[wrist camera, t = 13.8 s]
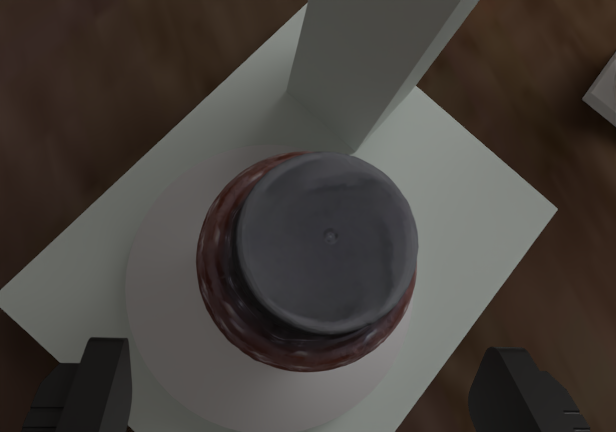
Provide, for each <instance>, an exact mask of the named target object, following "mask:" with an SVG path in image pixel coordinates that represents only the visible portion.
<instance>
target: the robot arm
mask: <svg viewBox="0 0 616 432" xmlns="http://www.w3.org/2000/svg"><path fill="white" fill-rule="evenodd" d="M131 403H132V376H131V363H130V350H129V341H128V338H108V337H91V338H90V339H89V340H88V342H87V344H86V347H85V350H84V353H83V355H82V358H81V361H80V363H59V364H58V365H57V367H56V368H55V369H54V370H53V371H52V372H51V373H50V374H49V375H48V376H47V377H46V378H45V379H44V380H43V381H42V382H41V383H40V386H39V388H38V390H37V393H36V395H35V398H34V400H33V402H32V405H31V409H30V412H28V414H27V417H26V419H25V421H24V424H23V426H22V431H21V432H126V429H127V425H128V421H129V416H130V410H131ZM468 406H469V412H470V416H471V419H472V422H473V424H474V427H475V429H476V432H590V427H589V425H588V424H587V422H586V420H585V419H584V417H583V416H582V415H580V414H579V409H578V408H577V406H576V404H575V403H574V401H573V399H572V398H571V396H570V395H569V393H568V391H567V390H566V389H565V388H564V387H563V386H562V385H561V384H560V383H559V382H558V381H557V380H555V379H554V378H553V377H552V376H551V375H550V374H549V373H548V372H547V371H539V369H538V368H537V366H536V364H535V363H534V361H533V359H532V358H531V356H530V354H529V353H528V352H527V350H525V349H524V348H518V347H490V348H488V349H487V350H486V352H485V354H484V357H483V359H482V362H481V364H480V367H479V369H478V371H477V374H476V376H475V379H474V381H473V384H472V386H471V389H470V391H469V397H468Z"/></svg>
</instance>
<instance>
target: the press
mask: <svg viewBox="0 0 616 432" xmlns="http://www.w3.org/2000/svg"><path fill="white" fill-rule="evenodd" d="M478 1H479V0H308V3H307V4H306V5H305V6H304V7H303V8H301V9H300V10H299V11H298V12H297V13H296V14H295V15H294V16H293V17H292V18H291V19H290V20H289V21H288V22H287V23H285V24H284V25H283V26H282V27H281V28H280V29H279V30H278V31H277V32H276V33H275V34H274V35H273V36H272V37H270V38H269V39H268V40H267V41H266V42H265V43H264V44H263V45H262V46H261V47H260V48H259V49H258V50H257V51H256V52H254V53H253V54H252V55H251V56H250V57H249V58H248V59H247V60H246V61H245V62H244V63H243V64H242V65H241V66H239V67H238V68H237V69H236V70H235V71H234V72H233V73H232V74H231V75H230V76H229V77H228V78H227V79H226V80H225V81H223V82H222V83H221V84H220V85H219V86H218V87H217V88H216V89H215V90H214V91H213V92H212V93H211V94H210V95H208V96H207V97H206V98H205V99H204V100H203V101H202V102H201V103H200V104H199V105H198V106H197V107H196V108H195V109H194V110H192V111H191V112H190V113H189V114H188V115H187V116H186V117H185V118H184V119H183V120H182V121H181V122H180V123H179V124H178V125H176V126H175V127H174V128H173V129H172V130H171V131H170V132H169V133H168V134H167V135H166V136H165V137H164V138H163V139H161V140H160V141H159V142H158V143H157V144H156V145H155V146H154V147H153V148H152V149H151V150H150V151H149V152H148V153H147V154H145V155H144V156H143V157H142V158H141V159H140V160H139V161H138V162H137V163H136V164H135V165H134V166H133V167H132V168H130V169H129V170H128V171H127V172H126V173H125V174H124V175H123V176H122V177H121V178H120V179H119V180H118V181H117V182H116V183H114V184H113V185H112V186H111V187H110V188H109V189H108V190H107V191H106V192H105V193H104V194H103V195H102V196H101V197H99V198H98V199H97V200H96V201H95V202H94V203H93V204H92V205H91V206H90V207H89V208H88V209H87V210H86V211H85V212H83V213H82V214H81V215H80V216H79V217H78V218H77V219H76V220H75V221H74V222H73V223H72V224H71V225H70V226H69V227H67V228H66V229H65V230H64V231H63V232H62V233H61V234H60V235H59V236H58V237H57V238H56V239H55V240H54V241H52V242H51V243H50V244H49V245H48V246H47V247H46V248H45V249H44V250H43V251H42V252H41V253H40V254H39V255H38V256H36V257H35V258H34V259H33V260H32V261H31V262H30V263H29V264H28V265H27V266H26V267H25V268H24V269H23V270H21V271H20V272H19V273H18V274H17V275H16V276H15V277H14V278H13V279H12V280H11V281H10V282H9V283H8V284H7V285H5V286H4V287H3V288H2V289H1V290H0V308H1V309H3V310H4V311H5V312H6V313H7V314H8V315H9V316H10V317H11V318H12V319H13V320H14V321H16V322H17V323H18V324H19V325H20V326H21V327H22V328H23V329H24V330H25V331H26V332H27V333H29V334H30V335H31V336H32V337H33V338H34V339H35V340H36V341H37V342H38V343H39V344H40V345H42V346H43V347H44V348H45V349H46V350H47V351H48V352H49V353H50V354H51V355H52V356H53V357H55V358H56V359H57V360H58V361H59V362H60V363H80V361H81V358H82V355H83V353H84V350H85V347H86V344H87V342H88V340H89V339H90V338H91V337H108V338H128V341H129V350H130V363H131V376H132V403H131V410H130V416H129V421H128V426H129V427H130V428H131V429H132V430H133V431H135V432H395V430H396V429H397V428H398V426H399V425H400V424H401V422H402V421H403V420H404V418H405V417H406V415H407V414H408V413H409V411H410V410H411V409H412V407H413V406H414V405H415V403H416V402H417V400H418V399H419V398H420V396H421V395H422V394H423V392H424V391H425V390H426V388H427V387H428V385H429V384H430V383H431V381H432V380H433V379H434V377H435V376H436V375H437V373H438V372H439V370H440V369H441V368H442V366H443V365H444V364H445V362H446V361H447V360H448V358H449V357H450V355H451V354H452V353H453V351H454V350H455V349H456V347H457V346H458V345H459V343H460V342H461V341H462V339H463V338H464V336H465V335H466V334H467V332H468V331H469V330H470V328H471V327H472V326H473V324H474V323H475V321H476V320H477V319H478V317H479V316H480V315H481V313H482V312H483V311H484V309H485V308H486V306H487V305H488V304H489V302H490V301H491V300H492V298H493V297H494V296H495V294H496V293H497V291H498V290H499V289H500V287H501V286H502V285H503V283H504V282H505V281H506V279H507V278H508V276H509V275H510V274H511V272H512V271H513V270H514V268H515V267H516V266H517V264H518V263H519V261H520V260H521V259H522V257H523V256H524V255H525V253H526V252H527V251H528V249H529V248H530V246H531V245H532V244H533V242H534V241H535V240H536V238H537V237H538V236H539V234H540V233H541V231H542V230H543V229H544V227H545V226H546V225H547V223H548V222H549V221H550V219H551V218H552V217H553V215H554V214H555V212H556V211H557V210H558V209H557V208H556V207H555V206H554V205H553V204H552V203H550V202H549V201H548V200H547V199H546V198H545V197H544V196H542V195H541V194H540V193H539V192H538V191H537V190H535V189H534V188H533V187H532V186H531V185H530V184H529V183H527V182H526V181H525V180H524V179H523V178H522V177H520V176H519V175H518V174H517V173H516V172H515V171H514V170H512V169H511V168H510V167H509V166H508V165H507V164H505V163H504V162H503V161H502V160H501V159H500V158H498V157H497V156H496V155H495V154H494V153H493V152H492V151H490V150H489V149H488V148H487V147H486V146H485V145H483V144H482V143H481V142H480V141H479V140H478V139H477V138H475V137H474V136H473V135H472V134H471V133H470V132H468V131H467V130H466V129H465V128H464V127H463V126H462V125H460V124H459V123H458V122H457V121H456V120H455V119H453V118H452V117H451V116H450V115H449V114H448V113H447V112H445V111H444V110H443V109H442V108H441V107H440V106H438V105H437V104H436V103H435V102H434V101H433V100H432V99H430V98H429V97H428V96H427V95H426V94H425V93H423V92H422V91H421V90H420V89H419V88H418V87H417V86H416V84H417V83H418V82H419V80H420V79H421V78H422V76H423V75H424V74H425V72H426V71H427V70H428V68H429V67H430V66H431V64H432V63H433V62H434V60H435V59H436V57H437V56H438V55H439V53H440V52H441V51H442V49H443V48H444V47H445V45H446V44H447V43H448V41H449V40H450V39H451V37H452V36H453V35H454V33H455V32H456V31H457V29H458V28H459V27H460V25H461V24H462V23H463V21H464V20H465V19H466V17H467V16H468V15H469V13H470V12H471V11H472V9H473V8H474V7H475V5H476V4H477V3H478ZM301 151H309V152H337V153H342V154H348V155H350V156H354V157H357V158H360V159H362V160H364V161H366V162H367V163H369V164H371V165H373V166H375V167H376V168H377V169H379V170H381V171H382V172H384V173H385V174H386V175H387V176H388V177H389V178H390V179H391V180H392V181H393V182H394V183H395V184H396V186H397V187H398V188H399V189H400V191H401V193H402V194H403V196H404V197H405V198H406V199H407V201H408V203H409V205H410V208H411V211H412V214H413V216H414V219H415V222H416V227H417V231H418V246H419V248H418V254H417V275H416V283H415V287H414V290H413V295H412V298H411V301H410V304H409V306H408V309H407V311H406V312H405V314H404V316H403V318H402V319H401V321H400V322H399V324H398V325H397V327H396V328H395V329H394V331H393V332H392V333H391V334H390V336H389V337H387V339H386V340H385V341H384V342H383V343H381V344H380V345H379V346H378V347H377V348H376V349H375V350H373V351H372V352H370V353H369V354H367V355H365V356H364V357H362V358H361V359H359V360H357V361H356V362H353V363H351V364H348V365H346V366H342V367H339V368H336V369H332V370H329V371H320V372H293V371H286V370H282V369H278V368H274V367H272V366H269V365H266V364H264V363H261V362H258V361H255V360H253V359H252V358H251V357H249V356H248V355H246V354H244V353H243V352H241V351H240V350H239V349H238V348H237V347H236V346H234V345H233V344H231V343H230V342H229V341H228V340H227V339H226V337H225V336H224V335H223V334H222V332H221V331H220V330H219V329H218V327H217V326H216V325H215V323H214V322H213V320H212V318H211V316H210V315H209V313H208V311H207V310H206V307H205V304H204V302H203V299H202V296H201V293H200V290H199V284H198V278H197V270H196V252H197V243H198V239H199V235H200V231H201V228H202V225H203V222H204V219H205V217H206V214H207V212H208V210H209V208H210V206H211V205H212V203H213V202H214V200H215V199H216V197H217V196H218V195H219V194H220V192H221V191H222V190H223V189H224V187H225V186H226V185H227V184H228V183H229V182H230V181H231V180H233V179H234V178H235V177H236V176H237V175H238V174H239V173H241V172H242V171H244V170H245V169H247V168H248V167H250V166H252V165H254V164H255V163H257V162H259V161H262V160H264V159H266V158H269V157H272V156H275V155H278V154H284V153H290V152H301Z"/></svg>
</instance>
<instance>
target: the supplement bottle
mask: <svg viewBox="0 0 616 432" xmlns="http://www.w3.org/2000/svg"><path fill="white" fill-rule="evenodd" d="M418 248H419V246H418V231H417V227H416V222H415V219H414V216H413V214H412V211H411V208H410V205H409V203H408V201H407V199H406V198H405V197H404V196H403V194H402V193H401V191H400V189H399V188H398V187H397V186H396V184H395V183H394V182H393V181H392V180H391V179H390V178H389V177H388V176H387V175H386V174H385V173H384V172H382V171H381V170H379V169H377V168H376V167H375V166H373V165H371V164H369V163H367V162H366V161H364V160H362V159H360V158H357V157H354V156H350V155H348V154H342V153H337V152H309V151H301V152H290V153H284V154H278V155H275V156H272V157H269V158H266V159H264V160H262V161H259V162H257V163H255V164H254V165H252V166H250V167H248V168H247V169H245V170H244V171H242V172H241V173H239V174H238V175H237V176H236V177H235V178H234V179H233V180H231V181H230V182H229V183H228V184H227V185H226V186H225V187H224V189H223V190H222V191H221V192H220V194H219V195H218V196H217V197H216V199H215V200H214V202H213V203H212V205H211V206H210V208H209V210H208V212H207V214H206V217H205V219H204V222H203V225H202V228H201V231H200V235H199V239H198V243H197V252H196V270H197V278H198V284H199V290H200V293H201V296H202V299H203V302H204V304H205V307H206V310H207V311H208V313H209V315H210V316H211V318H212V320H213V322H214V323H215V325H216V326H217V327H218V329H219V330H220V331H221V332H222V334H223V335H224V336H225V337H226V339H227V340H228V341H229V342H230V343H231V344H233V345H234V346H236V347H237V348H238V349H239V350H240V351H241V352H243V353H244V354H246V355H248V356H249V357H251V358H252V359H253V360H255V361H258V362H261V363H264V364H266V365H269V366H272V367H274V368H278V369H282V370H286V371H293V372H320V371H329V370H332V369H336V368H339V367H342V366H346V365H348V364H351V363H353V362H356V361H357V360H359V359H361V358H362V357H364V356H365V355H367V354H369V353H370V352H372V351H373V350H375V349H376V348H377V347H378V346H379V345H380V344H381V343H383V342H384V341H385V340H386V339H387V337H389V336H390V334H391V333H392V332H393V331H394V329H395V328H396V327H397V325H398V324H399V322H400V321H401V319H402V318H403V316H404V314H405V312H406V311H407V309H408V306H409V304H410V301H411V298H412V295H413V290H414V287H415V283H416V275H417V254H418Z"/></svg>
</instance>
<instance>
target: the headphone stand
mask: <svg viewBox="0 0 616 432" xmlns="http://www.w3.org/2000/svg"><path fill="white" fill-rule="evenodd" d="M582 100H583V101H584V102H586V103H587V104H588V105H589V106H590V107H592V108H593V109H594V110H595V111H597V112H598V113H599V114H600V115H602V116H603V117H604V118H605V119H607V120H608V121H609V122H610V123H612V124H613V125H614V126H615V127H616V52H615V53H614V55H613V56H612V57H611V59H610V60H609V62H608V63H607V64H606V66H605V67H604V69H603V70H602V71H601V73H600V74H599V76H598V77H597V78H596V80H595V81H594V83H593V84H592V85H591V87H590V88H589V90H588V91H587V92H586V94H585V95H584V97H583V98H582Z"/></svg>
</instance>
